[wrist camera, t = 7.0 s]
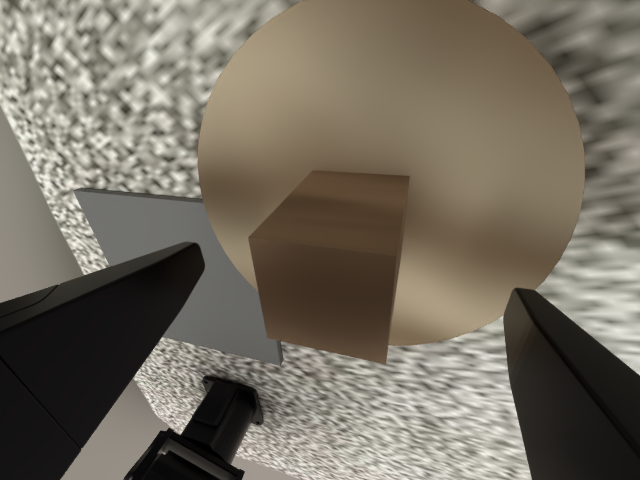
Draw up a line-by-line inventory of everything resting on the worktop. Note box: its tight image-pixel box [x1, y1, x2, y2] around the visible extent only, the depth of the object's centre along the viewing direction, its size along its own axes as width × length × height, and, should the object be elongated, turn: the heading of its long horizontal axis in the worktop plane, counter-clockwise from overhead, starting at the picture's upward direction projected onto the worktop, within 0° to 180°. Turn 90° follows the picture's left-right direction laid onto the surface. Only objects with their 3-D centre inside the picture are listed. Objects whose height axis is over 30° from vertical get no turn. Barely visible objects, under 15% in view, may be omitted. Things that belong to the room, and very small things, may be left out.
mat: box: [74, 188, 283, 365], centre depth 27 cm, size 16×16×1 cm
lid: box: [198, 0, 585, 364], centre depth 10 cm, size 14×14×6 cm
